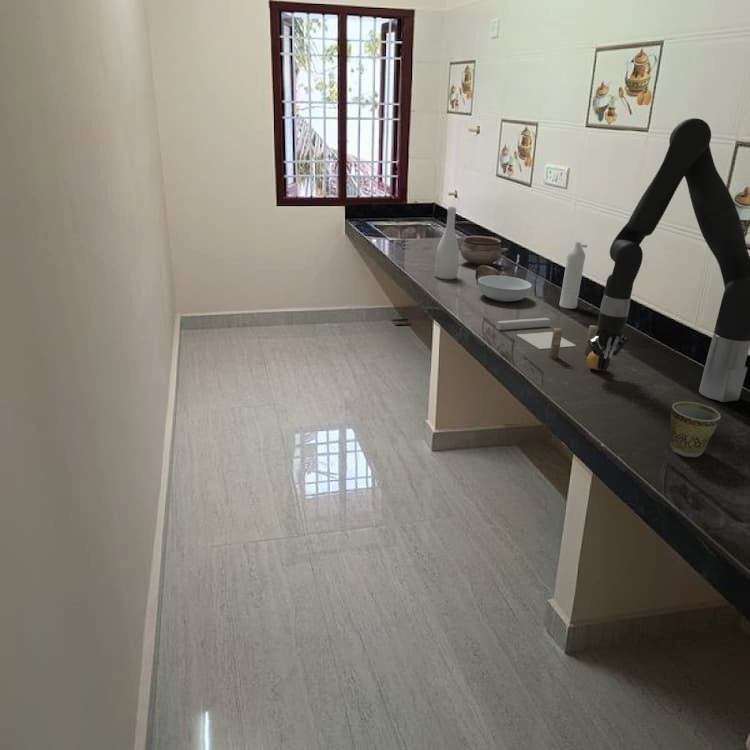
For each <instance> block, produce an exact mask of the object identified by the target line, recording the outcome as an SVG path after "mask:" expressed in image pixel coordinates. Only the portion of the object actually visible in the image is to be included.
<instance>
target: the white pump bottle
mask: <svg viewBox="0 0 750 750" xmlns="http://www.w3.org/2000/svg"><path fill="white" fill-rule="evenodd" d="M583 248H584V249H585V248H588V244H586V243H583V242H581V241H575V242H574V245H573V247H572V248H571V249H570V250H569V251H568V252H567V256H566V263H565V269H564V275H563V280H562V285H561V288H562V289H561V294H560V299H559V306H560V308H563V309H570V310H571V309H572V310H573V309H576V308H577V306H578V300H579V295H580V288H581V287H580V286H581V281H582V276H583V271H584V266H585V259H586V252H585V251H584V249H583Z"/></svg>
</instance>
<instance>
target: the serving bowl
mask: <svg viewBox="0 0 750 750" xmlns="http://www.w3.org/2000/svg"><path fill="white" fill-rule="evenodd" d="M477 286H478V290H479V291H480V292H481V294H482V295H484V296H485V297H487V298H489V299H492V300H494V301H498V302H505V303H506V302H507V303H509V302H510V303H511V302H516V301H520V300H523V299H525V298H526V297H527V296H528V295H529V294H530V292H531V290H532V286H533V285H532V283H530V282H529V281H527V280H525V279H522V278H517V277H513V276H508V275H500V276H497V275H492V276H483V277H480V278H479V279H478V283H477Z"/></svg>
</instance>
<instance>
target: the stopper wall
mask: <svg viewBox="0 0 750 750" xmlns="http://www.w3.org/2000/svg"><path fill="white" fill-rule="evenodd" d="M550 323H551V319H550V318H548V317H539V318H525V319H524V318H523V319H513V320H512V319H510V320H498V321H496V327H495V328H496V330H498V331H504V330H505V331H506V330H516V329H517V330H519V329H529V328H530V329H531V328H542V327H544V328H546V327H547V328H548V327H549V326H550Z"/></svg>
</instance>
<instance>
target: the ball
mask: <svg viewBox="0 0 750 750" xmlns="http://www.w3.org/2000/svg"><path fill="white" fill-rule="evenodd" d="M603 352H604V351H603ZM586 360H587V365H588V366H589V368H590V369H592V370H595V371H601V370H600V369H599V368H598V366H597V365H598V360H599V356H597V355H595V354H594V353H593V351H592V352H591V353H590V354H589V355H587V359H586Z"/></svg>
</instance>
